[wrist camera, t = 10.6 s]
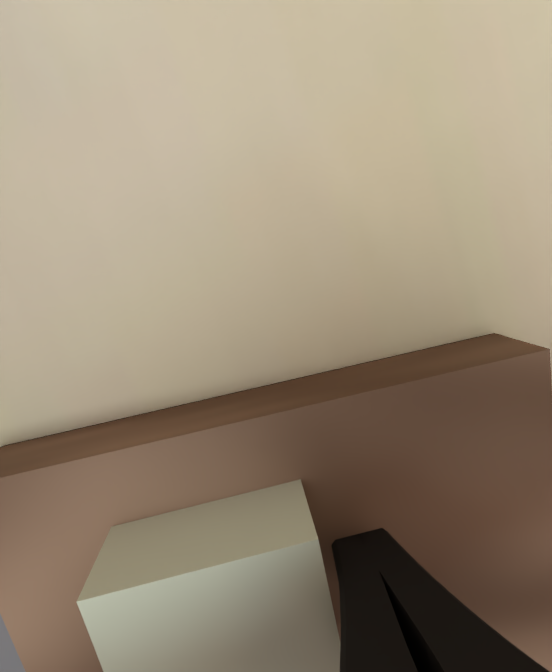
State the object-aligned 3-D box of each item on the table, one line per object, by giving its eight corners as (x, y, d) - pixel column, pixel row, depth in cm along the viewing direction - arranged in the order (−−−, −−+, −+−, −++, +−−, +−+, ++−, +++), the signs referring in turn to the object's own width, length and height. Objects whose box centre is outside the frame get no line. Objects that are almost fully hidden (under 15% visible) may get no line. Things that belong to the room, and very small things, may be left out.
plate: (525, 700, 14) (571, 771, 12) (144, 810, 13) (128, 906, 11) (494, 333, 11) (549, 349, 9) (1, 446, 10) (-54, 490, 8)
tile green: (332, 629, 10) (356, 718, 8) (163, 676, 10) (145, 779, 8) (300, 479, 9) (318, 539, 7) (111, 526, 9) (76, 601, 7)
